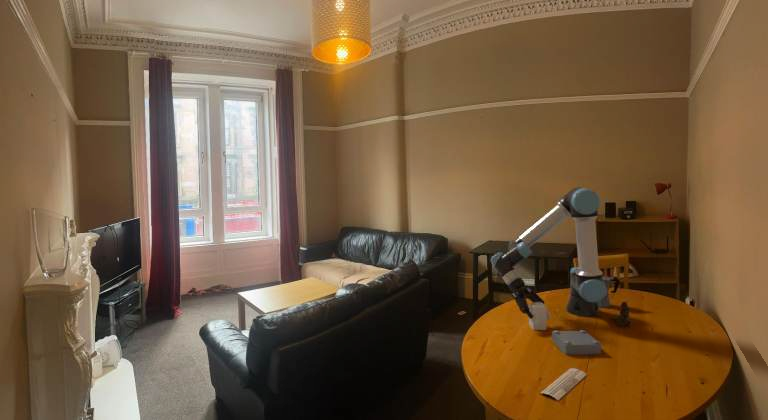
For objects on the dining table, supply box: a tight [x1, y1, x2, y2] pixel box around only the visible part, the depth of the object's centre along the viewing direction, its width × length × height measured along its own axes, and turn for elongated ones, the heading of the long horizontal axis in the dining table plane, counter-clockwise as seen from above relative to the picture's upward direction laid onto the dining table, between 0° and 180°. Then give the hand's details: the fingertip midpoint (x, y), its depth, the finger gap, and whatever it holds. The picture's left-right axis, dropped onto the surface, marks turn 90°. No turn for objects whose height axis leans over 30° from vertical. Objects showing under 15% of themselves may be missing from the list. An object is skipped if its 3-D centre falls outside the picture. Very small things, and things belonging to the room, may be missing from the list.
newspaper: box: [539, 367, 588, 402], centre depth 140 cm, size 24×7×2 cm, turn 133°
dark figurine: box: [611, 301, 632, 328], centre depth 193 cm, size 15×10×12 cm, turn 134°
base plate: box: [551, 329, 602, 356], centre depth 169 cm, size 14×14×5 cm
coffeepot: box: [597, 275, 621, 309], centre depth 218 cm, size 15×9×18 cm, turn 62°
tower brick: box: [528, 302, 548, 331], centre depth 191 cm, size 6×6×12 cm
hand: (543, 321), depth 188 cm, fingers open, 9 cm apart
